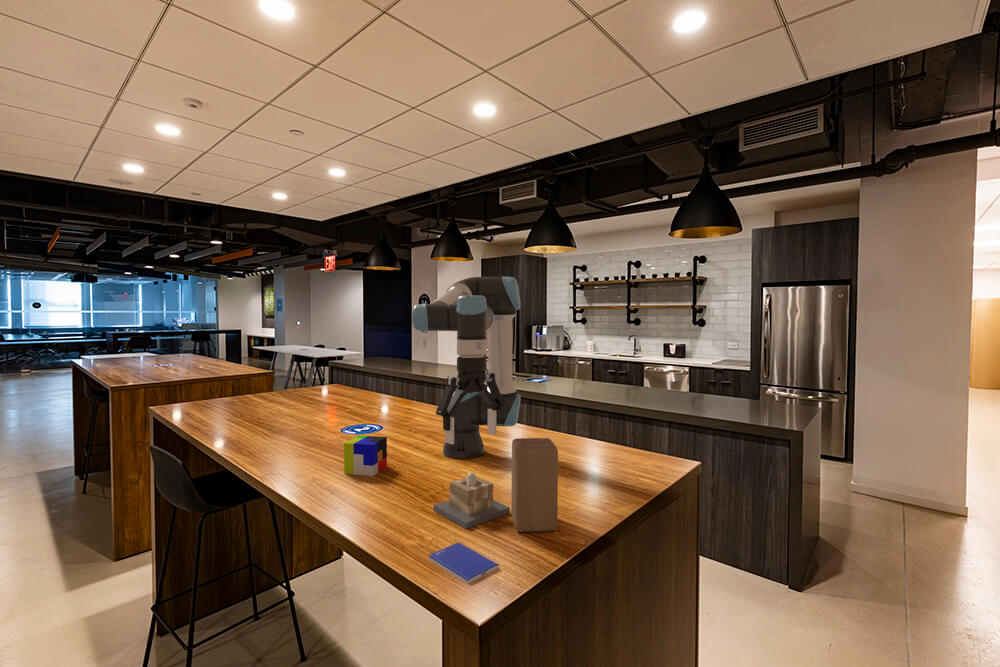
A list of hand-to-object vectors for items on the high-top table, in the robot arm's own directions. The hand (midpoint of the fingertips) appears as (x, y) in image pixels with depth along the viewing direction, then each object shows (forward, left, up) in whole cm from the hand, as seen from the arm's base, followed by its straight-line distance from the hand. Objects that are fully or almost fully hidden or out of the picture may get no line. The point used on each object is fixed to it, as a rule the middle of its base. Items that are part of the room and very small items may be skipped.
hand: (471, 438), depth 121 cm
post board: (0, 0, -19) cm, 19 cm away
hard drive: (+17, +19, -20) cm, 32 cm away
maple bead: (0, 0, -18) cm, 18 cm away
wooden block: (-7, +16, -19) cm, 26 cm away
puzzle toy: (+6, -49, -19) cm, 53 cm away
